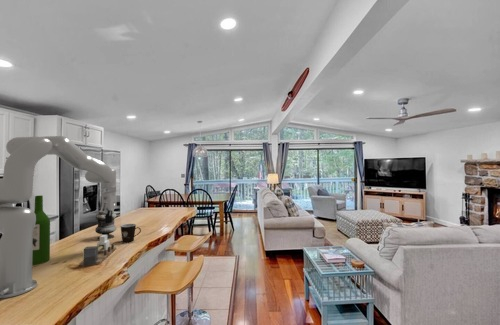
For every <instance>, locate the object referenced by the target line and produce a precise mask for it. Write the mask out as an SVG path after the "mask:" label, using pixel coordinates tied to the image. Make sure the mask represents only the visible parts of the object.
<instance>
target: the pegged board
mask: <svg viewBox="0 0 500 325" xmlns="http://www.w3.org/2000/svg"><path fill="white" fill-rule="evenodd" d="M110 245H111V246H110V247H108V250H104V251H100V250H101V249H102V248H104V245H101V246H100V247H99V248H98V246H97V245H95V246H91V245H90V246H86V247H84V248H83V260H82V261H80V262H78V263H79V266H80V267H81V266H83V267H84V266H95V265H101V264H102V263H103V262H104V261H105V260H106V259H107V258H108V257H110V255H112V253H114V252H115V251H116V250H117V246H115V243H111V244H110Z"/></svg>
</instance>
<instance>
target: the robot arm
mask: <svg viewBox="0 0 500 325" xmlns="http://www.w3.org/2000/svg"><path fill="white" fill-rule="evenodd" d="M5 147H6V151H7V152H8V154H9V156H8V157H7V159H6V160H5V163H4V166H3V167H4V168H3V173H2V178H0V232H2V235H1V237H0V299H8V298H12V297H16V296H20V295H22V294H26V293H28V292H30V291H32V290H33V289H35V288H36V287H37V286H38V280H36V279H33V265H32V254H33V231H34V227H35V223H36V215H35V213H34V210H32V209H30V208H28V207H24V206H12V205H13V204H23V203H26V202H29V200H30V199H31V198H32V196H33V191H34V190H33V189H34V172H35V167H36V165H37V163H39V161H40V160H41V159H42V158H44V157H46V156H47V155H48V156H49V155H50V156H51V155H54V156H57V157H59V158H60V159H61V160H63V161H64V162H65V163H66V164H68V165H69V166H70V167H72V168H74V169H78V170H81V171H85V175H84V178H85V180H86V181H87V182H89V183H92V184H93V183H95V184H100V194H101V210H102V211H104V214H105V223H111V222H112V214H113V210H115V209H117V205H118V204H117V195H116V194H117V170H116V169H115V168H111V167H110V166H109V165H108V164H106V163H105V162H104V161H102V160H100V159H98V158H95V157H93V156H91V155H90V154H89V155H88V154H86V153H85V152H84V151H83V150H82V149H81V148H80V147H79V146H77V145H76V144H75V143H74V142H73V141H72V140H71V139H69V138H68V137H66V136H64V135H63V136H61V135H55V136H54V135H47V136H25V137H24V136H20V137H19V136H18V137H12V138H11V139H10V140H8V141H7V143H6V146H5Z"/></svg>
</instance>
